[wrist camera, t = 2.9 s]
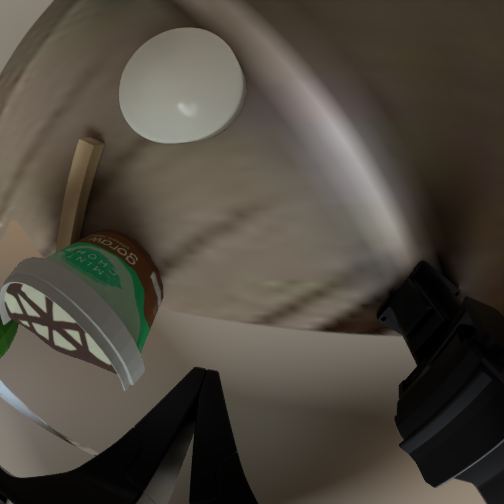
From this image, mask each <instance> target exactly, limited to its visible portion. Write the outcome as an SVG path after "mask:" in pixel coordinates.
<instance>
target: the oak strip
mask: <svg viewBox="0 0 504 504" xmlns="http://www.w3.org/2000/svg"><path fill="white" fill-rule="evenodd" d="M104 145H105V144H104V143H102V142H100V141H98V140H95V139H93V138H91V137H89V138H81V139H79V141H78V145H77V148H76V151H75V155H74V158H73V162H72V166H71V170H70V174H69V178H68V182H67V186H66V191H65V196H64V200H63V206H62V211H61V217H60V223H59V230H58V237H57V245H56V252H58V251H60V250H62V249H64V248H66V247H67V246H69V245H71V244H73V243H75V242H77V241H79V239H80V234H81V229H82V224H83V220H84V215H85V211H86V207H87V202H88V198H89V195H90V191H91V187H92V183H93V180H94V176H95V173H96V170H97V167H98V163H99V160H100V157H101V154H102V151H103V148H104Z"/></svg>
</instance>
